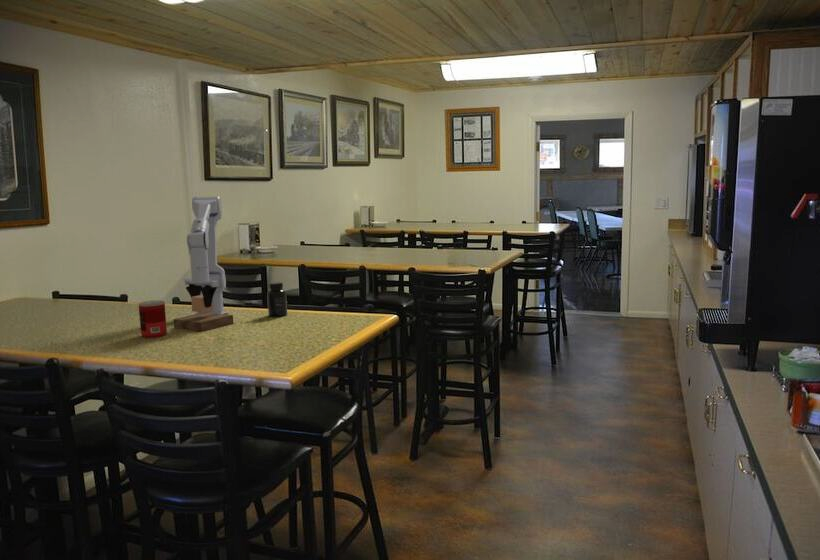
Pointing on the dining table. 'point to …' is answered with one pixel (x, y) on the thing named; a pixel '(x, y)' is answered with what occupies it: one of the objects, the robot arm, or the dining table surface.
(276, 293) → the supplement bottle
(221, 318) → the walnut base
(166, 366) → the dining table surface
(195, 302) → the terracotta cube
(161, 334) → the canned food
